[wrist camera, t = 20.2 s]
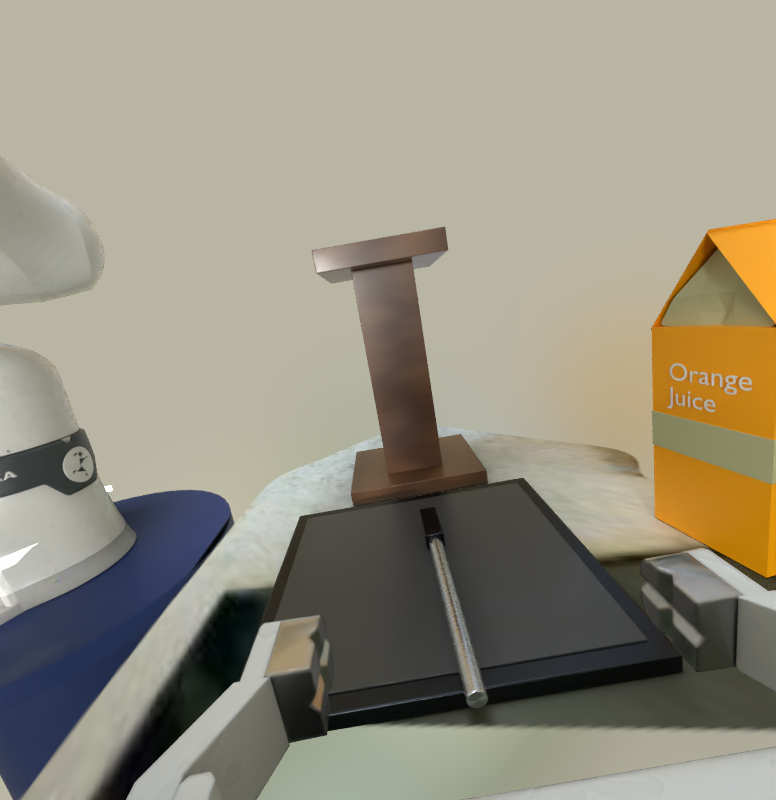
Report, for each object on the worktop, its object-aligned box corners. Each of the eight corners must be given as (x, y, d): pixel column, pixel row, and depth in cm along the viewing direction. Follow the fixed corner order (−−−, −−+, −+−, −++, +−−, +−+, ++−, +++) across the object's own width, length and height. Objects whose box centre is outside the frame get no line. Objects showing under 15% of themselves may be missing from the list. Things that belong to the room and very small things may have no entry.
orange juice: (882, 539, 24) (927, 188, 20) (768, 580, 22) (788, 210, 18) (744, 488, 31) (754, 226, 27) (651, 516, 30) (646, 244, 26)
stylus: (463, 711, 17) (459, 690, 17) (420, 521, 33) (418, 509, 32) (494, 706, 17) (491, 684, 17) (437, 519, 33) (435, 506, 32)
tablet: (224, 749, 18) (217, 731, 18) (302, 525, 38) (299, 515, 38) (683, 672, 18) (683, 653, 18) (524, 486, 38) (523, 476, 37)
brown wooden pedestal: (353, 506, 40) (300, 252, 34) (358, 462, 52) (319, 267, 46) (488, 483, 40) (456, 224, 34) (462, 444, 51) (435, 247, 46)
